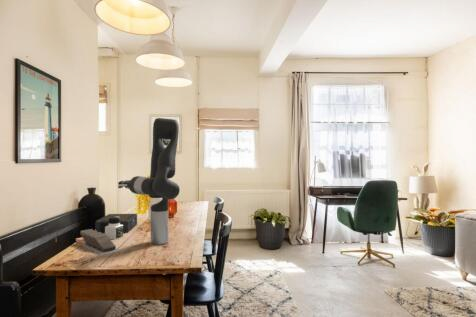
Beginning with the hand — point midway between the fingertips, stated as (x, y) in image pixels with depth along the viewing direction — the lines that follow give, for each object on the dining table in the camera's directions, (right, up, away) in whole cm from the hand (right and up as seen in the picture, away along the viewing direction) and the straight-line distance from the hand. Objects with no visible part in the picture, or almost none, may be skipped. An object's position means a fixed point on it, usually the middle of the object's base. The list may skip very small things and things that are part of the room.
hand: (121, 183), depth 137 cm
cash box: (-24, -35, +57) cm, 71 cm away
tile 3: (-16, -32, +13) cm, 39 cm away
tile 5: (-23, -32, +20) cm, 44 cm away
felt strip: (-15, -34, +13) cm, 39 cm away
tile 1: (-9, -33, +7) cm, 34 cm away
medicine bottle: (-17, -34, +33) cm, 51 cm away
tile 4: (-20, -32, +16) cm, 41 cm away
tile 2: (-12, -32, +10) cm, 36 cm away
